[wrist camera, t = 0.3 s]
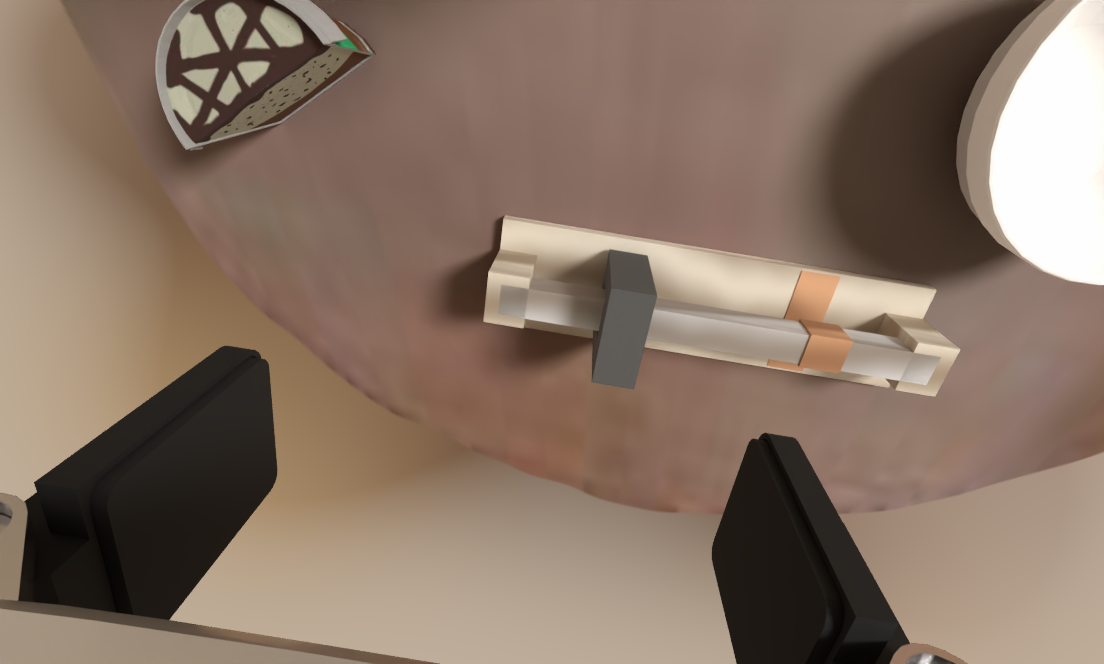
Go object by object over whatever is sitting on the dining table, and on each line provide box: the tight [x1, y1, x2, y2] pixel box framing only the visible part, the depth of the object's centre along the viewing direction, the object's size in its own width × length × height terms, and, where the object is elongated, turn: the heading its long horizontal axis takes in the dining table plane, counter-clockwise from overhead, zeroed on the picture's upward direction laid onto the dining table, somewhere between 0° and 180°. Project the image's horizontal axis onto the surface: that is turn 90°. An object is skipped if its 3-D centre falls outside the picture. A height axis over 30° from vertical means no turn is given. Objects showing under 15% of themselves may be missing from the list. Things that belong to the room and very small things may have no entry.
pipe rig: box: [483, 215, 960, 396], centre depth 43 cm, size 9×34×6 cm, turn 82°
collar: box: [592, 249, 657, 389], centre depth 41 cm, size 7×3×8 cm, turn 172°
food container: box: [156, 0, 376, 150], centre depth 36 cm, size 12×6×10 cm, turn 120°
